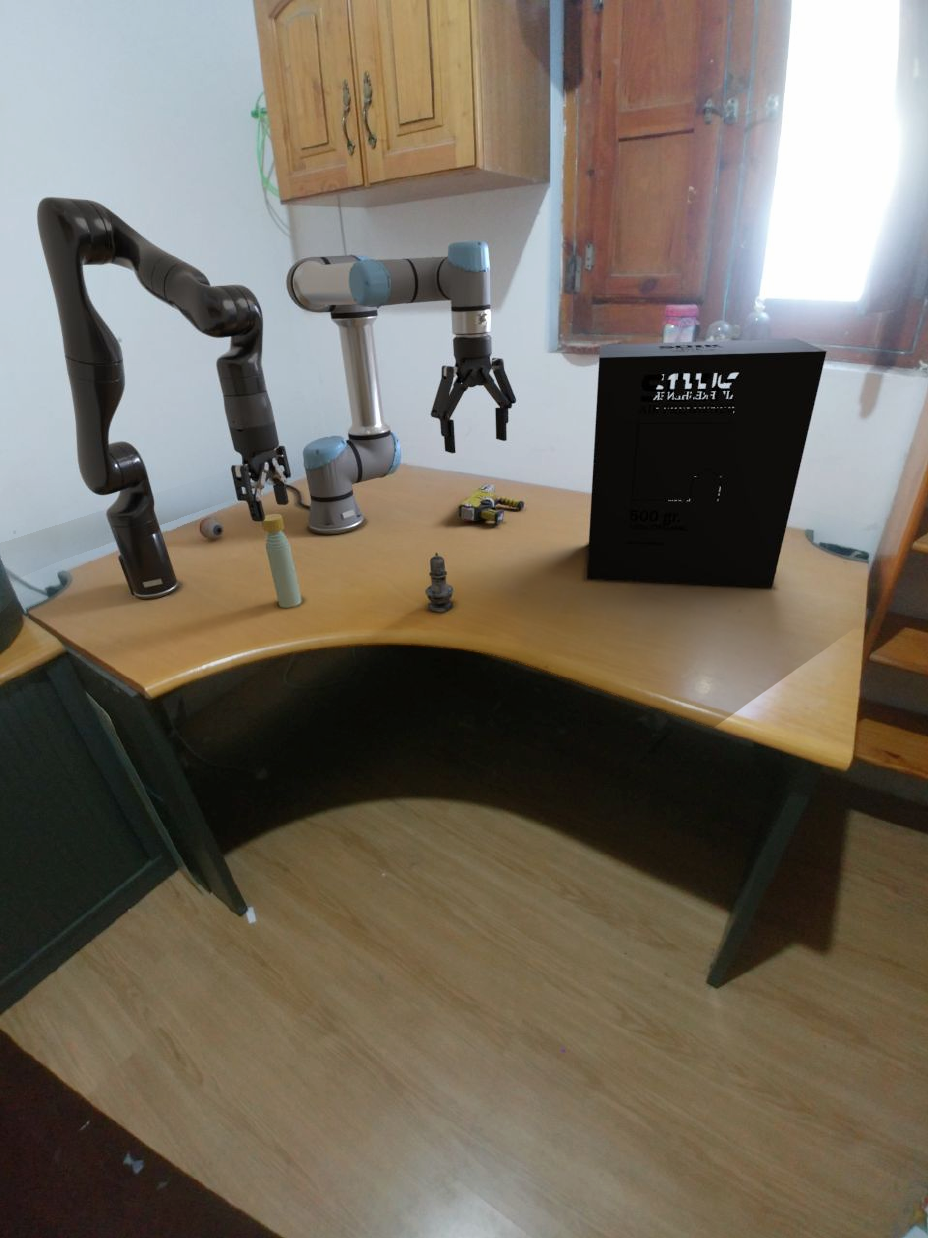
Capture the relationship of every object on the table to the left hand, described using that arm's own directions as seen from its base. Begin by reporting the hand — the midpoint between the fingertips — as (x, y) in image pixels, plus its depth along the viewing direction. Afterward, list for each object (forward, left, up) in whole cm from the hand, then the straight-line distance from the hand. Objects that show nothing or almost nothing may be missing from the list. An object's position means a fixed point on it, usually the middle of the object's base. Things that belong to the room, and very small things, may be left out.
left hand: (271, 512), depth 110 cm
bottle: (-6, +9, -24) cm, 26 cm away
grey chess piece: (+27, +12, -24) cm, 38 cm away
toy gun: (+26, +69, -24) cm, 78 cm away
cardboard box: (+73, +40, -24) cm, 87 cm away
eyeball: (-46, +38, -24) cm, 65 cm away
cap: (-6, +9, -5) cm, 12 cm away
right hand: (+31, +33, +4) cm, 45 cm away
